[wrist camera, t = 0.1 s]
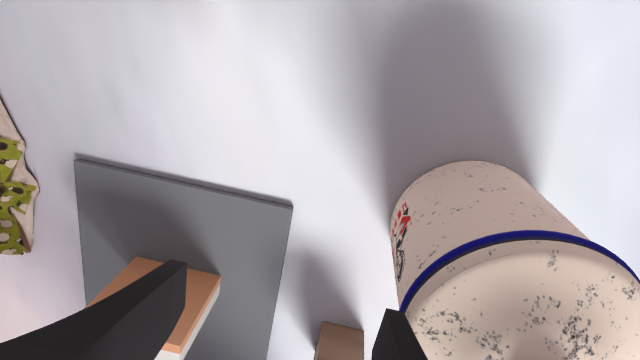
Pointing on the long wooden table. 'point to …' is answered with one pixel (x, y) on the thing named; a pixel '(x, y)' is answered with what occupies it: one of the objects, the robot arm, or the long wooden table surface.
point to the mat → (188, 248)
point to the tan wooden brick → (339, 343)
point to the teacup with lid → (506, 273)
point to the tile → (197, 304)
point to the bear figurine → (15, 191)
